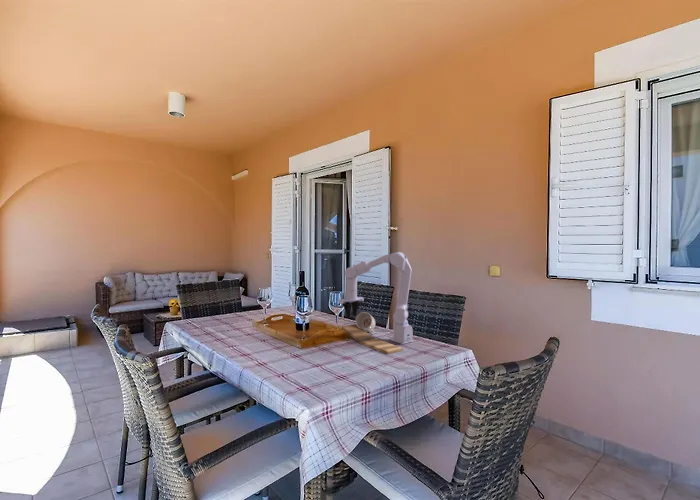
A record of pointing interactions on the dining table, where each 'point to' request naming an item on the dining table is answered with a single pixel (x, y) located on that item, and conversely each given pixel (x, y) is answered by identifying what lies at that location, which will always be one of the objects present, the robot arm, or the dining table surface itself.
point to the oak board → (381, 345)
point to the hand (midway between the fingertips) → (351, 316)
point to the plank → (356, 332)
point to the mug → (365, 322)
